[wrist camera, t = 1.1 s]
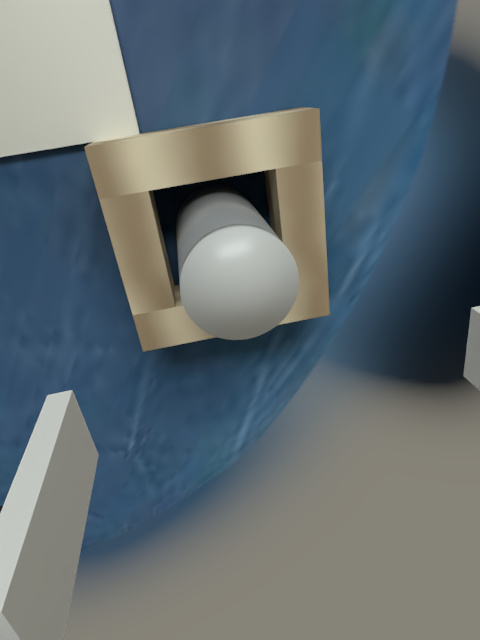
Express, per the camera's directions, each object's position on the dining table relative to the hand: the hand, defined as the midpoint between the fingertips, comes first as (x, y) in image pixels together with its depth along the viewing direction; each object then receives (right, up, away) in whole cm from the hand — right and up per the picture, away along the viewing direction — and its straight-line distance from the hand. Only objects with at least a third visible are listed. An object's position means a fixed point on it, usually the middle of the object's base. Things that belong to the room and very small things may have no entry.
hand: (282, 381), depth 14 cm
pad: (-14, +18, +12) cm, 25 cm away
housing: (-3, +9, +18) cm, 20 cm away
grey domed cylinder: (-3, +9, +18) cm, 20 cm away
